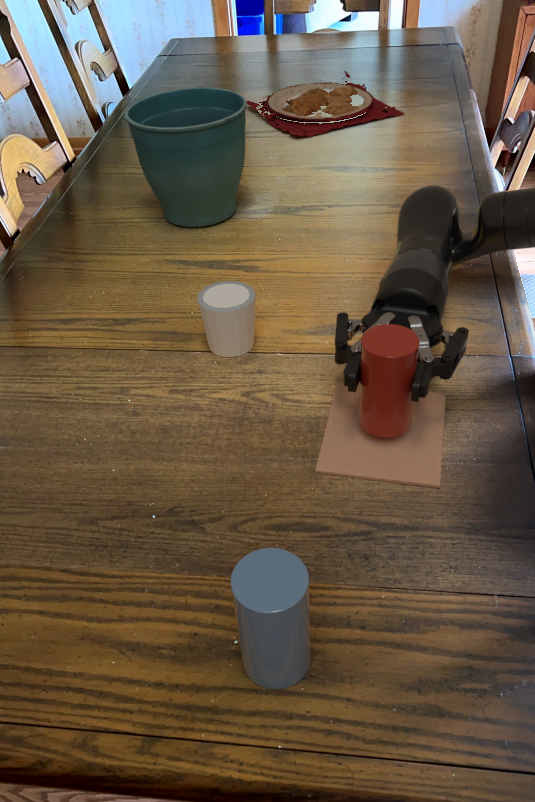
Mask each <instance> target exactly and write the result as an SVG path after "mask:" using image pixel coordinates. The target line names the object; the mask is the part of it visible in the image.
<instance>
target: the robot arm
mask: <svg viewBox="0 0 535 802" xmlns="http://www.w3.org/2000/svg"><path fill="white" fill-rule="evenodd" d="M533 248H535V186H533V187H527V188H521V189H514V190H507V191H506V190H505V191H498V192H493V193H489V194H487V195H485V196H484V197H482V199H481V200H480V202H479V206H478V211H477V221H476V227H475V228H474V229H472V230H469V231H467V232H463V226H462V221H461V215H460V209H459V203H458V200H457V198H456V196H455V195H454V193H452V191H450V190H449V189H448V188H446V187H444V186H440V185H437V184H436V185H434V184H433V185H425V186H422V187H420V188H418V189H416V190H415V191H413V192H412V193H410V194H409V195H408V196H407V197H406V199H405V200H404V201H403V202H402V205H401V206H400V208H399V212H398V217H397V228H396V247H395V251H394V254H393V256H392V259H391V261H390V264H389V265H388V267H387V269H386V270H385V271H384V274H383V276H382V278H381V279H380V282H379V284H378V289H377V292H376V295H375V296H374V299H373V303H372V305H371V307H370V310H369V312H368V313H366V314H364V316H363V317H362V319H361V318H360V319H359V318H349V314H348V313H347V312H344V311H343V312H339V313H337V315H336V323H335V336H334V363H335V364H337V365H345V367H344V369H343V383H344V386H348V392H354V393H355V392H356V390H357V387H358V385H360V359H361V338H360V339H358V340H357V341H356V342H355V343H353V344H352V345H351V344H349V343H348V342H351V341H353V337H355V336H356V334H357V333H359V332H361V333H362V336H363V334H364V333H365V332H366V331H367V330H368V329H370V328H372V327H374V326H377V325H383V324H395V325H401V326H404V327H407V328H409V329H411V330H412V331H414V332H415V333H416V334H417V336H418V338H419V341H420V344H419V354H418V364H417V370H416V373H415V377H414V380H413V385H412V393H411V401H413V402H418V401H419V397H421V398H425V397H426V396H427V394H428V391H429V390H430V386H431V381H432V379H433V378H435V377H438V378H440V379H441V380H443V381H444V380H445V381H447V380H450V379H451V378H452V376H453V375H454V373H455V371H456V369H458V366H459V364H460V362H461V360H462V359H463V357H464V355H465V353H466V352H467V346H468V339H469V333H470V330H469V328H467V327H463V326H461V327H457V328H456V329H455V332H454V331H450V330H447V329H444V326H443V324H442V320H443V315H444V311H445V308H446V303H447V299H448V295H449V290H450V278H451V273H452V269H453V267H456V266H458V265H461V264H464V263H465V262H469V261H471V260H474V259H478V258H480V257H484V256H487V255H490V254H493V253H497V252H503V251H509V250H510V251H513V250H524V249H525V250H526V249H533ZM362 336H361V337H362ZM440 343H442V344H443V349H444V350H443V351H442V353H441V355H440V356H437V357H435V356H434V353H433V352H432V348H434V347H436V346H438V345H439V344H440Z"/></svg>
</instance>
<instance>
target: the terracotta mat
mask: <svg viewBox="0 0 535 802" xmlns="http://www.w3.org/2000/svg"><path fill="white" fill-rule="evenodd" d="M359 389H360V384H358V387H357V390H356V392H355V393H354V392H348V386H344V382H336V385H335V388H334V392H333V396H332V401H331V404H330V409H329V413H328V417H327V421H326V425H325V429H324V433H323V437H322V442H321V446H320V449H319V454H318V458H317V462H316V465H315V466H316V467H315V470H314V472H315V474H320V475H328V476H337V477H345V478H353V479H362V480H371V481H378V482H384V483H385V482H386V483H394V484H401V485H402V484H403V485H409V486H417V487H425V488H434V489H440V488H441V479H442V462H443V461H442V460H443V447H444V434H445V433H444V431H445V430H444V429H445V418H446V417H445V413H446V402H447V401H446V400H447V399H446V398H447V393H446V392H438V391H429V390H428V394H427V396H426V397H425V398H421V397H419V401H418V402H414V405H413V415H412V423H411V426H410V428H409V429H408V430H407V431H406V432H405V433H403V434H401V435H398V436H395V437H379V436H375V435H372V434H370V433H368V432H367V431H365V430H364V429H363V428H362V427H361V425H360V423H359Z"/></svg>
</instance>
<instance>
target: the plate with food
mask: <svg viewBox="0 0 535 802" xmlns="http://www.w3.org/2000/svg"><path fill="white" fill-rule="evenodd" d="M343 73H344V74H345V75H344V76H345V77H343V78H342V79H344V78H347V79H350V78H351V75H350V74H349V73H348V72H347V71H346V70H344V72H343ZM347 81H348V80H347ZM347 81H345V82H346V83H347ZM323 89H329V90H331V89H332V91H330V92H329V93H328V92H327V91H325V90H323ZM333 89H334V90H333ZM369 92H370V91H368V90H367V87H366V84H365V83H362V85H361V84H360V83H353V82H352V83H347V84H345V85H344V84H338V83H336V82H331V81H329V82H317V81H316V82H313V83H312V82H311V83H303V84H295V85H289V86H286V87H284V88H281V89H279V90H277V91H276V92H273V93H272V94H269V95H266V96H265V97H264V98H266V97H268V98H267V100H266V101H263V102H259V103H262V104H261V105H263V107H262V108H260V109H258V110H261V111H262V112H261V114H260V113H258V114H259V116H261V117H263V118H266V117H267V118H266V119H265V122H266V123H268V124H269V125H271V127H273V128H274V129H276V130H280V131H282V132H285V133H289V134H290V135H292V136H300V137H301V138H303V137H304V136H305V137H307V138H309V137H313V136H317V135H322V134H326V133H329V131H331V130H333V129H335V130H336V129H340V128H344V127H345V126H353V125H357V124H362V123H363V124H365V123H368V122H370V121H373V120H377V121H379V120H382V119H385V118H388V117H398V116H402V115H404V114H405V112H403V111H402V110H399V109H397V108H396V106H391V105H388V104H387V103H384V102H383V101H382V100H379V99H377V98H375V97H374V96H373V95H372V93H371V92H370V93H371V94H370V93H369ZM299 94H302V95H300V96H299V97H297V98H295V99H290V100H289V101H288V99H289V98H292V97H294V96H296V95H299ZM357 94H358V95H359V96H361V97H362V98H363V99H364V102H363V104H361V105H359V106H352V104H350V103H351V102H352V99H351V97H350V96H352V95H357ZM251 101H252V100H246V105H247V106H248V107H250V109H252V110H256V112H257V111H258V110H257V109H256V107H257V106H260V105H259V104H257V103H254V102H251ZM284 101H285V102H286V103H288V104H289V105H288V106H286V107H285V108H283V106H285V105H284V104H286V103H285V102H284ZM320 106H327V107H326V108H325V109H323V110H322V109H321V107H320ZM385 107H387V108H385ZM264 109H265V110H264ZM318 110H322V112H325V113H328V114H331V115H333V116H331V117H322V116H319V115H321V113H317V114H316V116H314V117H306V116H308V115H311V114H314V113H312V112H317V111H318ZM265 111H267V112H268V111H269V112H270V113H271V114H270V115H268V113H264V112H265ZM385 111H387V112H385ZM365 112H366V113H365ZM263 113H264V114H263ZM364 113H365V114H364ZM262 114H263V115H264V116H263V115H262ZM361 114H363V115H361ZM358 115H361V116H358ZM276 116H277V117H276ZM356 116H358V117H356ZM278 117H279V118H278ZM353 117H356V118H353ZM280 118H282V119H280ZM349 118H353V119H349ZM283 119H287V120H292V121H287V120H283ZM344 119H349V120H345V121H340V122H334V123H322V124H319V123H305V124H304V123H299V122H330V121H339V120H344ZM293 121H298V122H293Z"/></svg>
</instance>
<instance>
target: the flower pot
mask: <svg viewBox="0 0 535 802" xmlns="http://www.w3.org/2000/svg"><path fill="white" fill-rule="evenodd" d="M246 101H247V99H246V98H245V96H244V95H242V94H240V93H238V92H237V91H234V90H230V89H225V88H221V87H187V88H186V87H185V88H178V89H177V88H176V89H173V90H167V91H162V92H159V93H154V94H151V95H148V96H146V97H143V98H141V99H138V100H137V101H135V102H133V103H132V104H131V105H129V106H128V107H127V108H126V110H125V112H124V118H125V121H126V122H127V123H128V127H129V128H128V129H129V132H130V135H131V138H132V139H133V144H134V147H135V151H136V155H137V158H138V162H139V165H140V167H141V170H142V173H143V175H144V177H145V179H146V181H147V183H148V186H149V187H150V189H151V191H152V192H153V194H154V195H155V197H156V199H157V201H158V203H159V205H160V206H161V210H162V214H163V217H164V218H165V220H166V221H168V222H169V223H170V224H173V225H175V226H179V227H185V228H199V227H200V228H201V227H208V226H212V225H215V224H219V223H221V222H223V221H225V220H228V219H229V218H230V217H232V216H233V215H234V214H235V212H236V211H237V207H238V204H237V196H238V192H239V188H240V182H241V180H242V176H243V172H244V166H245V160H246V109H247V106H248V105H247V103H246Z"/></svg>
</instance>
